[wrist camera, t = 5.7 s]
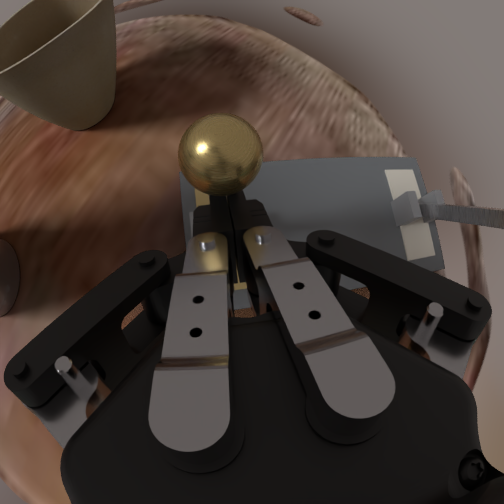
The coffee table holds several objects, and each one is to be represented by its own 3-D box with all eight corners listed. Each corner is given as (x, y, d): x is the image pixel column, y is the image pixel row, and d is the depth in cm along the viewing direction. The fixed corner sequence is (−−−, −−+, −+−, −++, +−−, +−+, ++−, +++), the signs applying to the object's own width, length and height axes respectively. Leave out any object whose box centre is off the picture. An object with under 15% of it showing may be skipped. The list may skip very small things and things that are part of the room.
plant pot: (113, 52, 31) (85, -32, 16) (164, 103, 30) (138, -8, 14) (28, 115, 28) (-28, 46, 13) (60, 183, 27) (-24, 106, 12)
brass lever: (205, 254, 23) (174, 183, 8) (201, 217, 23) (170, 102, 9) (244, 249, 23) (276, 171, 9) (238, 212, 24) (260, 93, 9)
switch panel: (199, 313, 26) (190, 316, 19) (185, 189, 28) (174, 155, 21) (422, 273, 29) (464, 263, 22) (397, 172, 31) (430, 145, 24)
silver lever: (401, 226, 25) (533, 252, 11) (399, 194, 25) (534, 199, 10) (423, 223, 26) (550, 246, 11) (422, 193, 25) (550, 199, 11)
